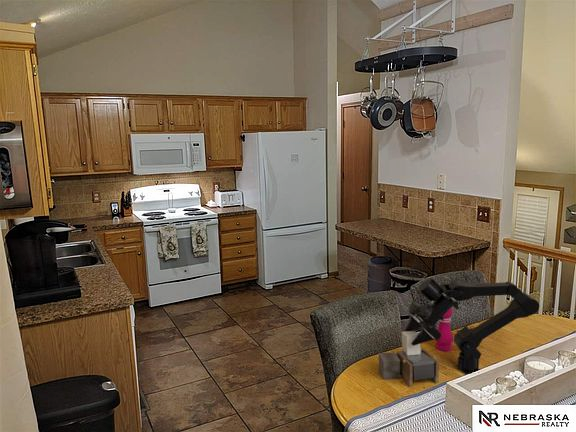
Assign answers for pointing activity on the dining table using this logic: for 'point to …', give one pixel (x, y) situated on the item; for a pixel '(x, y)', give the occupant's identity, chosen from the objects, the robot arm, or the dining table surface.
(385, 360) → the stand
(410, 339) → the off-white block
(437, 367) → the frame
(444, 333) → the pepper mill
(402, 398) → the dining table surface
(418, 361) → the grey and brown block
